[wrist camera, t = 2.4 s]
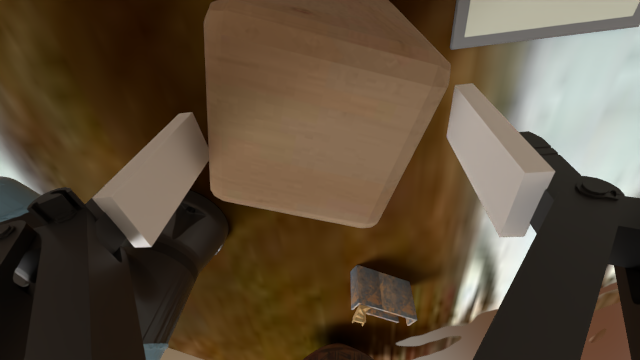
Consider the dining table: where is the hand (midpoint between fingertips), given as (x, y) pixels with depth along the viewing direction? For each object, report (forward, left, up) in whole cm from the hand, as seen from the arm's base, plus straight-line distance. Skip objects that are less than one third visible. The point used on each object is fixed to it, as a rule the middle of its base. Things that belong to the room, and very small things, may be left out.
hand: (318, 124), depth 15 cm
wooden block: (0, 0, -18) cm, 18 cm away
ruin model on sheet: (+5, -42, -18) cm, 46 cm away
